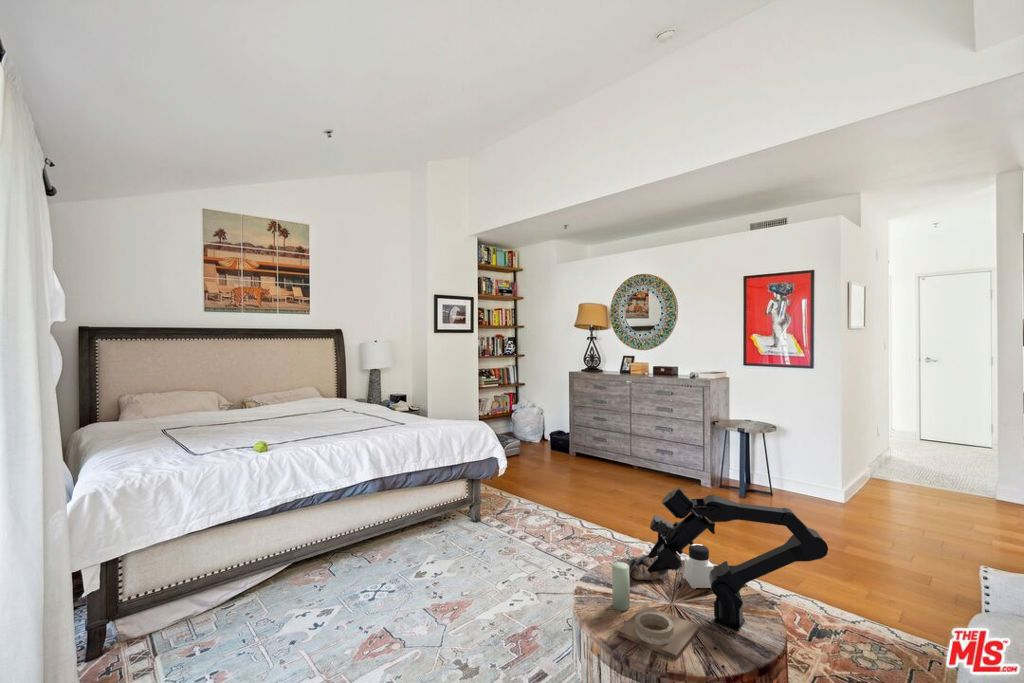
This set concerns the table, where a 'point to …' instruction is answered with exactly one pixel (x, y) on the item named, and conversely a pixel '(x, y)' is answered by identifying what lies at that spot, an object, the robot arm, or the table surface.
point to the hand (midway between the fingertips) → (648, 564)
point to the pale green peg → (620, 586)
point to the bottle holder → (659, 631)
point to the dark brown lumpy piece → (643, 569)
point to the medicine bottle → (698, 567)
